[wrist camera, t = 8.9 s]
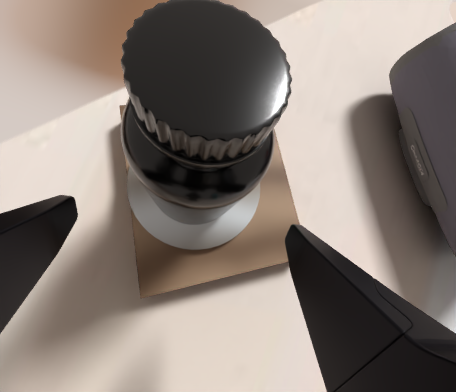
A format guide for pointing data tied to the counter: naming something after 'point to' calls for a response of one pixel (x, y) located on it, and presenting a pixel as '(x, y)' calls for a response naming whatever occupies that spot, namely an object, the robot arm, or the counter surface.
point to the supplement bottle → (201, 105)
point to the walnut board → (211, 235)
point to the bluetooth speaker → (430, 122)
